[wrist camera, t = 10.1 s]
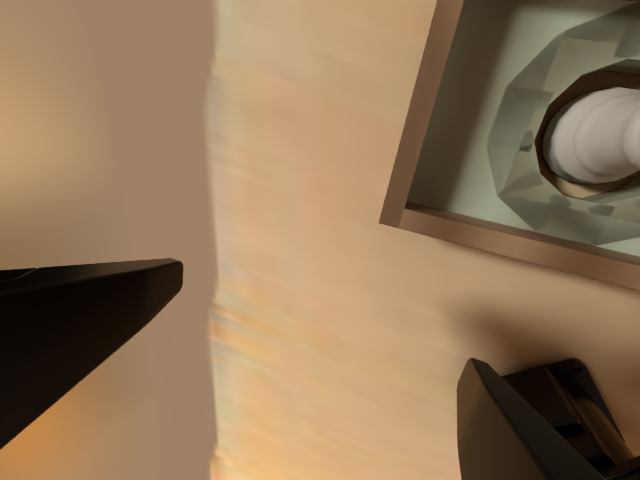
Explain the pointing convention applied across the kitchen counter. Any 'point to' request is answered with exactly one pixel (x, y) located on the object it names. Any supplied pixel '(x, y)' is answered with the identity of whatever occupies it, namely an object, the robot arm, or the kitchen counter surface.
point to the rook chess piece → (595, 137)
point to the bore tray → (513, 134)
